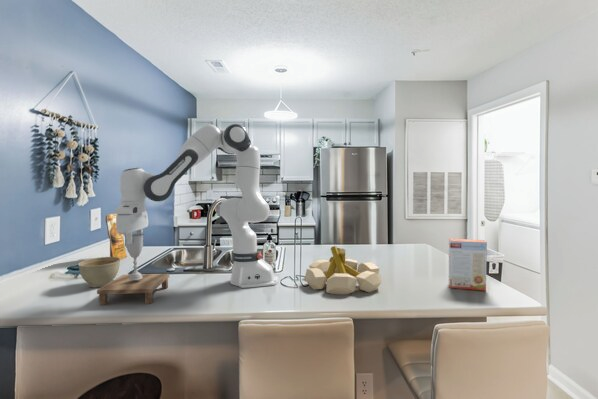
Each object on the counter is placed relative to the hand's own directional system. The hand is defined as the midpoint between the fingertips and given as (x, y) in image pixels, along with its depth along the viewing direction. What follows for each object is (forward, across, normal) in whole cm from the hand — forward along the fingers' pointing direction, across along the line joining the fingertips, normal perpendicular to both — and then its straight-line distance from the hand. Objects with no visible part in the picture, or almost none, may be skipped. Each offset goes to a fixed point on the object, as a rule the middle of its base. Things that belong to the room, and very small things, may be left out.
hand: (134, 241), depth 130 cm
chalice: (+15, 0, 0) cm, 15 cm away
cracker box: (+23, +1, +140) cm, 142 cm away
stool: (+22, 0, 0) cm, 22 cm away
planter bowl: (+23, -16, -23) cm, 36 cm away
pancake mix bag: (+22, -65, -40) cm, 80 cm away
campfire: (+23, -10, +88) cm, 92 cm away
